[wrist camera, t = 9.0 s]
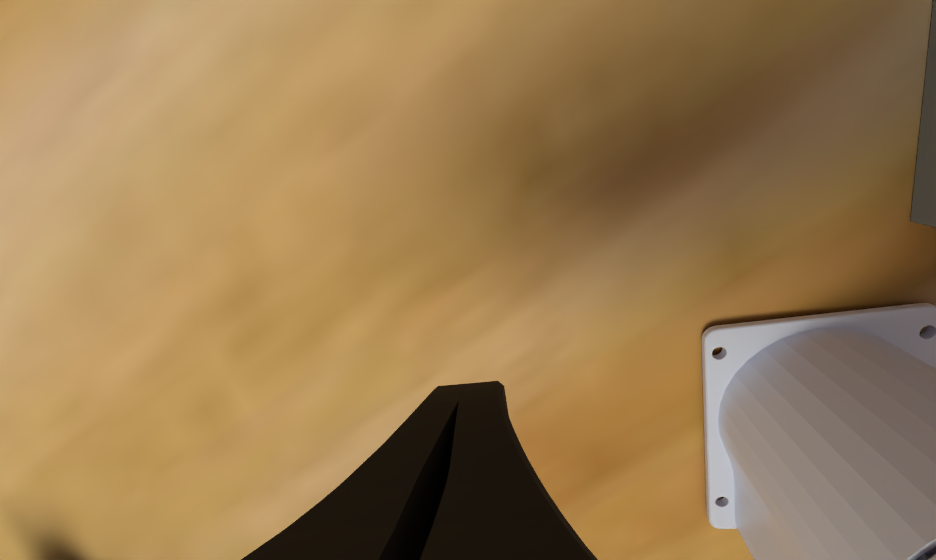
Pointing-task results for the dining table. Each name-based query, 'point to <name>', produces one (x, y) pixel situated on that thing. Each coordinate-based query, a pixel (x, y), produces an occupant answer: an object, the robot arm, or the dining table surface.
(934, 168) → the backboard
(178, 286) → the dining table surface
